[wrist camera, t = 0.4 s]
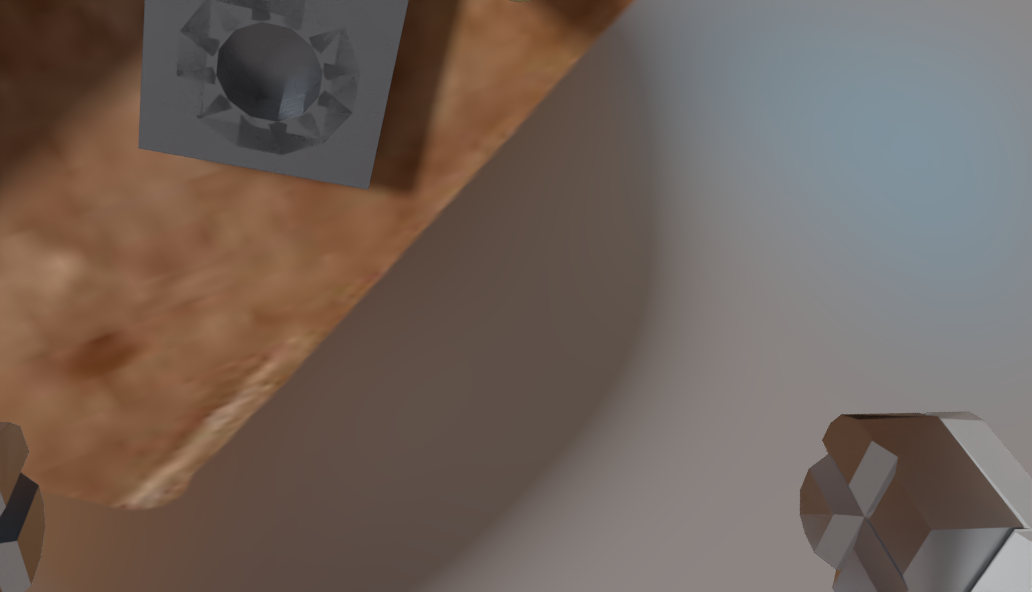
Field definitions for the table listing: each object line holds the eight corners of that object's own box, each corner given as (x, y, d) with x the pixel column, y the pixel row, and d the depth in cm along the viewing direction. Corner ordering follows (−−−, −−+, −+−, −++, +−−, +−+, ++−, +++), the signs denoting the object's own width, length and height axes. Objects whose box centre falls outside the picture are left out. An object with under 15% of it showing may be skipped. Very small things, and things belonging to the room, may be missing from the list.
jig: (167, -172, 42) (151, -160, 39) (422, -101, 46) (426, -84, 43) (152, 118, 51) (138, 148, 48) (368, 159, 55) (368, 189, 51)
